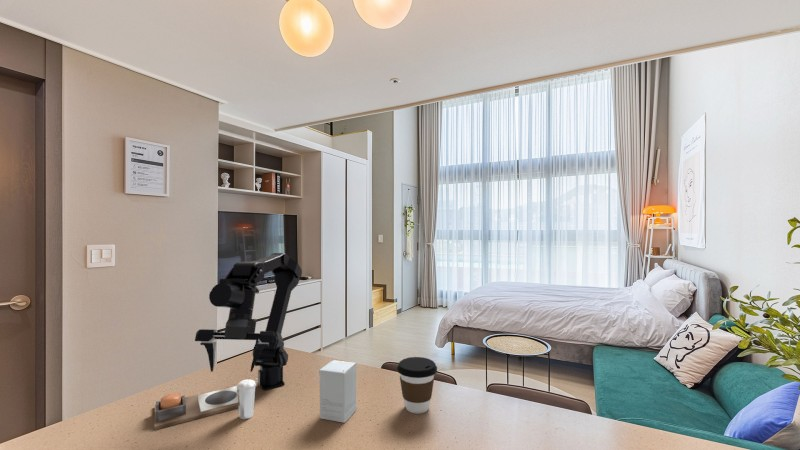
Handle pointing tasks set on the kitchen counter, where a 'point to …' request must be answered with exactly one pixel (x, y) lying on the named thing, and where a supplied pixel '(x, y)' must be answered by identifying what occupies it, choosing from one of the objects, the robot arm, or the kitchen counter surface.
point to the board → (196, 407)
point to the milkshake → (246, 398)
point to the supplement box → (338, 391)
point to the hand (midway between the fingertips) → (231, 371)
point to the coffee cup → (417, 382)
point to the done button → (170, 401)
